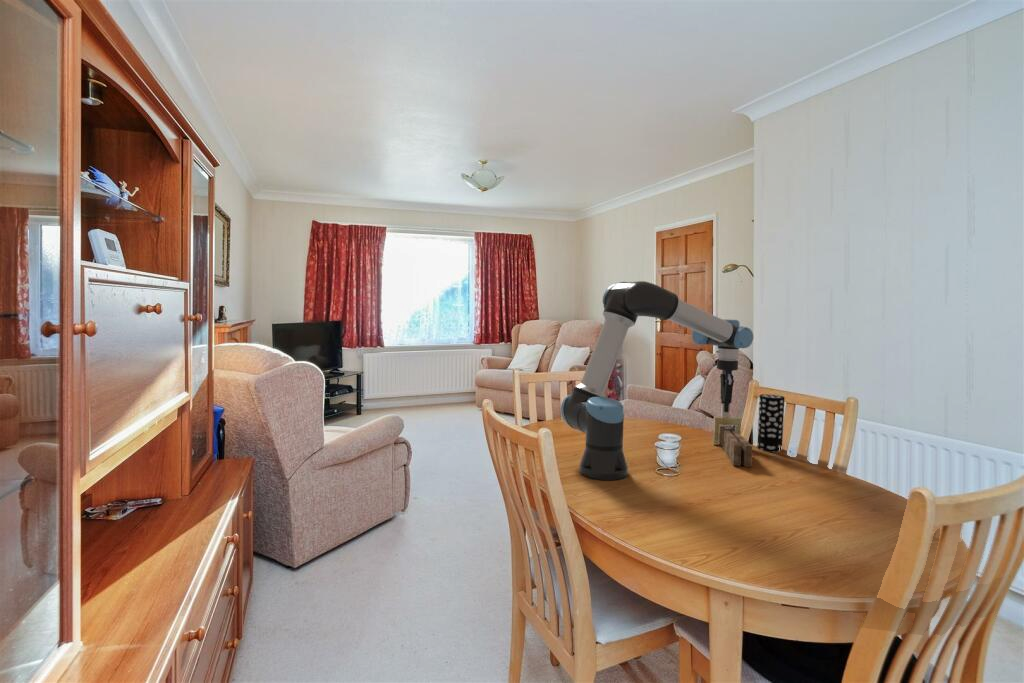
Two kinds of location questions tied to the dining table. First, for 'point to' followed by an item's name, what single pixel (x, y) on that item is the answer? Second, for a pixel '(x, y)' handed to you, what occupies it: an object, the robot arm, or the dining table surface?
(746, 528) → the dining table surface
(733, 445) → the jaw
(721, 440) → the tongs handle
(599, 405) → the robot arm
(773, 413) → the white-spotted black cylinder
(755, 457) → the dining table surface
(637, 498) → the dining table surface
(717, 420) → the lock cuff
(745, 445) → the jaw
